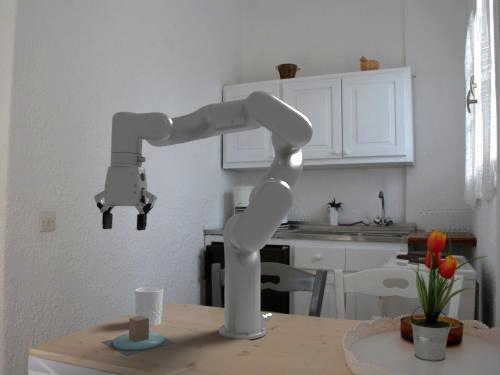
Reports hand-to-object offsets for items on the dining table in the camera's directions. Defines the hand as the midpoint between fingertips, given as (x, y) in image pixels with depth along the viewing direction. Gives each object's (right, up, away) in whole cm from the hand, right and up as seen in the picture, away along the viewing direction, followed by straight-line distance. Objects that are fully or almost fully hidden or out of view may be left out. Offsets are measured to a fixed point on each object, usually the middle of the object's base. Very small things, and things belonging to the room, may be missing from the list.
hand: (124, 229), depth 105 cm
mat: (+5, -28, -3) cm, 28 cm away
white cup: (+3, -29, +14) cm, 32 cm away
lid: (+5, -27, -3) cm, 28 cm away
